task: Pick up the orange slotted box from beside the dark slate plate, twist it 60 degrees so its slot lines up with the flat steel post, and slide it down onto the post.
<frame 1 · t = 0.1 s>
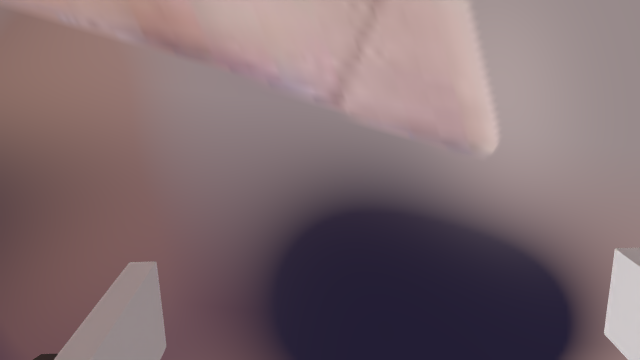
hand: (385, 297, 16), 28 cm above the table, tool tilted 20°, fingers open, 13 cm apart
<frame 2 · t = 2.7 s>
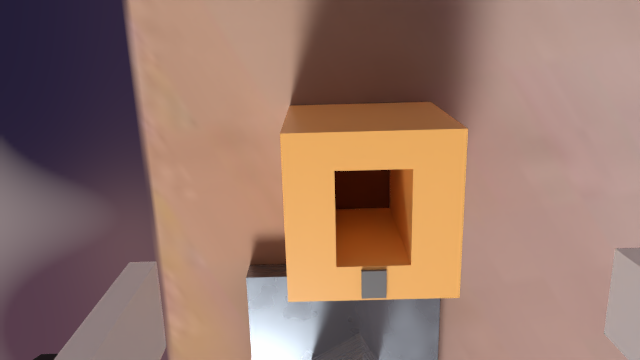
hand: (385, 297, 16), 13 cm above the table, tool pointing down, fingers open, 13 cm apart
post plate: (343, 344, 31), on the table
orange slotted box: (360, 171, 28), on the table
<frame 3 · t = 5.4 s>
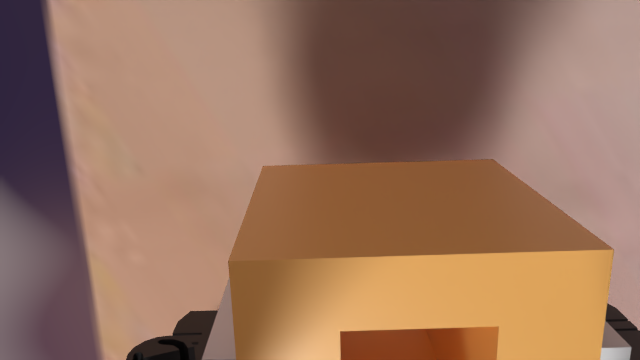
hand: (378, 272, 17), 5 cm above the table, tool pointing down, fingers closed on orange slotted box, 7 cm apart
orange slotted box: (377, 268, 18), point 5 cm above the table, touching gripper
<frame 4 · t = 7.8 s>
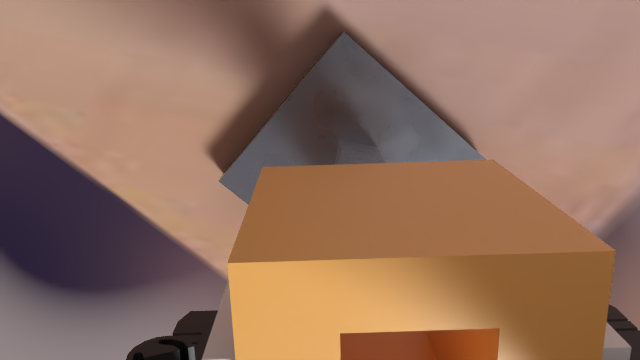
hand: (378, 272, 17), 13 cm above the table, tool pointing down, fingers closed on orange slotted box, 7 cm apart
post plate: (350, 163, 30), on the table
orange slotted box: (378, 269, 18), point 13 cm above the table, touching gripper
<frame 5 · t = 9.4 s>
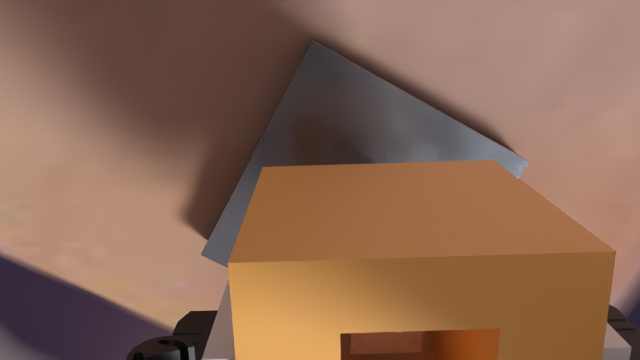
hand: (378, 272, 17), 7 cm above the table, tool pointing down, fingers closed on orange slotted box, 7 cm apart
post plate: (358, 197, 24), on the table
orange slotted box: (378, 269, 18), point 7 cm above the table, touching gripper
when the fingers open (4 cm above the table, at t = 10.6 s): orange slotted box drops 2 cm, resting on post plate.
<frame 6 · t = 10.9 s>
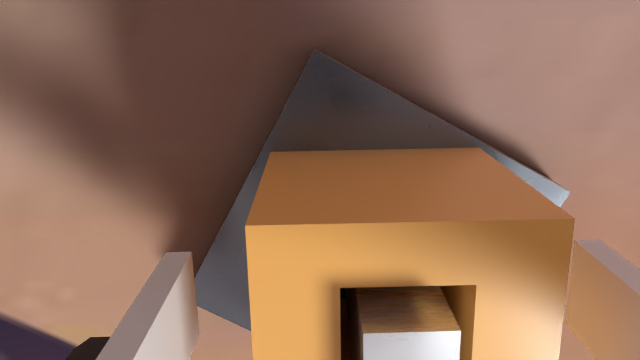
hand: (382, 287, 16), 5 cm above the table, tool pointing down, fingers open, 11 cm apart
post plate: (368, 231, 21), on the table
orange slotted box: (374, 246, 19), point 1 cm above the table, touching post plate
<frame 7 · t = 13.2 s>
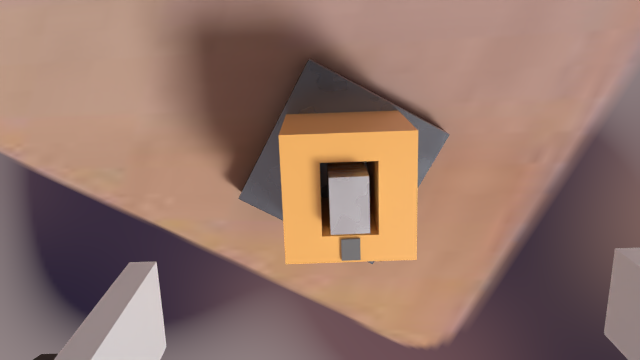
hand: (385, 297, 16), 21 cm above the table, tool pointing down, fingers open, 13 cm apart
post plate: (341, 161, 36), on the table
orange slotted box: (343, 166, 35), point 1 cm above the table, touching post plate
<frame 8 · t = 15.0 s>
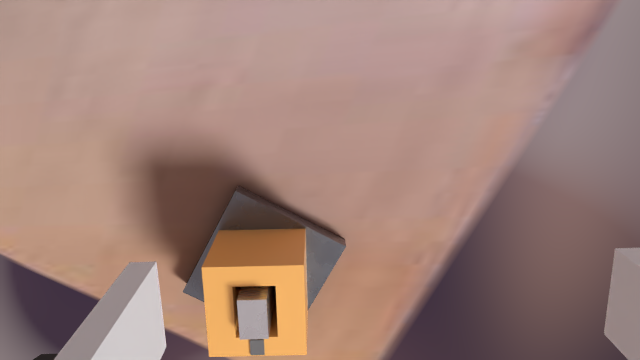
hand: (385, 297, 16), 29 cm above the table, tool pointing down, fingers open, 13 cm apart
post plate: (265, 261, 47), on the table
orange slotted box: (264, 269, 45), point 1 cm above the table, touching post plate
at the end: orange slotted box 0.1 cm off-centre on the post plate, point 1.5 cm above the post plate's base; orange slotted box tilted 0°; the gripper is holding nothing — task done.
